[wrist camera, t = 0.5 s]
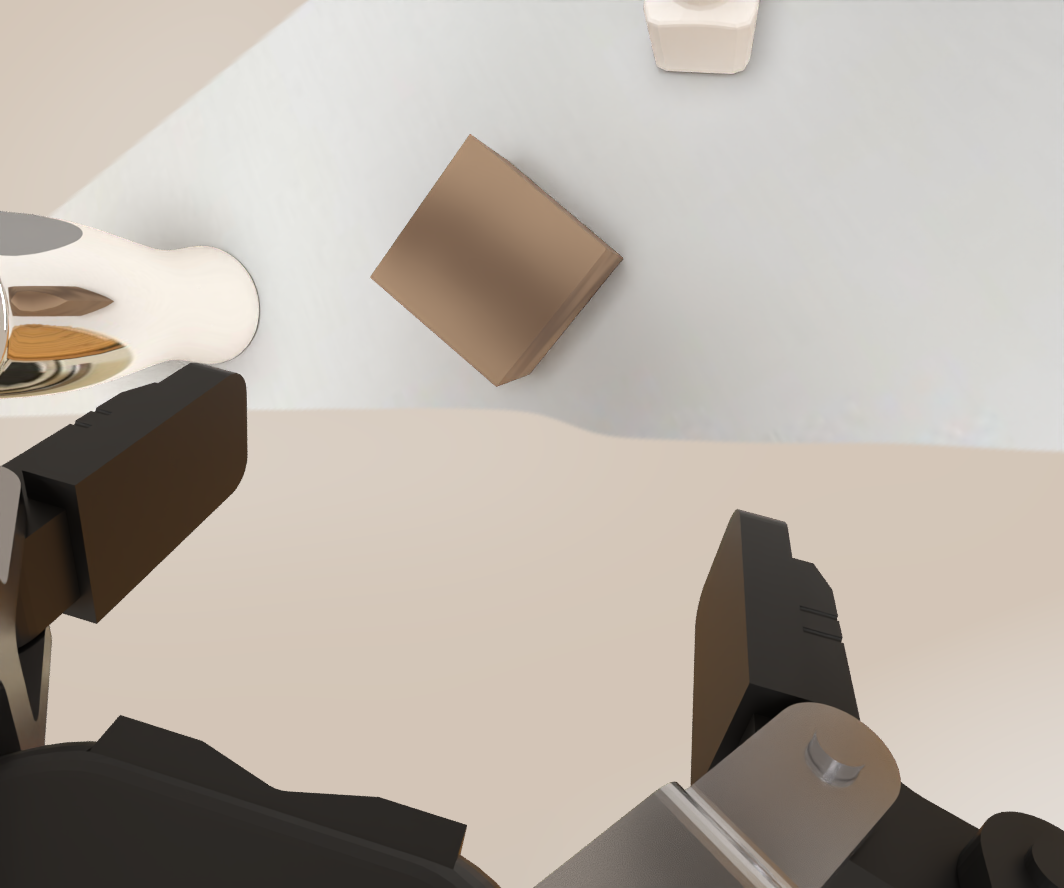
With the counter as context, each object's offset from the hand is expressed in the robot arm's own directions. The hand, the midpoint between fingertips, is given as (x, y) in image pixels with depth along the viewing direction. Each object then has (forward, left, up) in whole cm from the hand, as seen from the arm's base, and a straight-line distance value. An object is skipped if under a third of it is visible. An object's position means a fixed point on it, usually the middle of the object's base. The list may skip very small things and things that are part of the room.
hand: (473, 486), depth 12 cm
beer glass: (+12, -19, -25) cm, 33 cm away
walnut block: (0, -7, -24) cm, 25 cm away
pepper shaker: (-13, -7, -25) cm, 29 cm away
